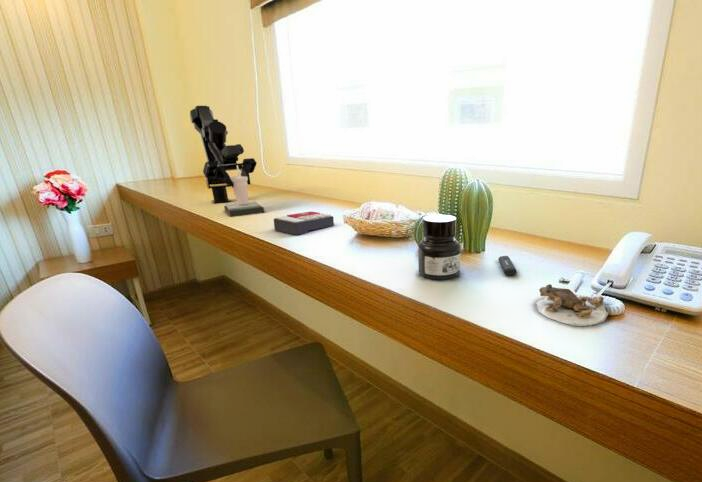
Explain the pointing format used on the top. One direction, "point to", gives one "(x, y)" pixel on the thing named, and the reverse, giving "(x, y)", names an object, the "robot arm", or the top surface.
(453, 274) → the ink bottle
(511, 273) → the usb stick
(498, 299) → the top surface
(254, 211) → the scale
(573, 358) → the top surface
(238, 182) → the smoothie
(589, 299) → the frog figurine
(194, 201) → the top surface
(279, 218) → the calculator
